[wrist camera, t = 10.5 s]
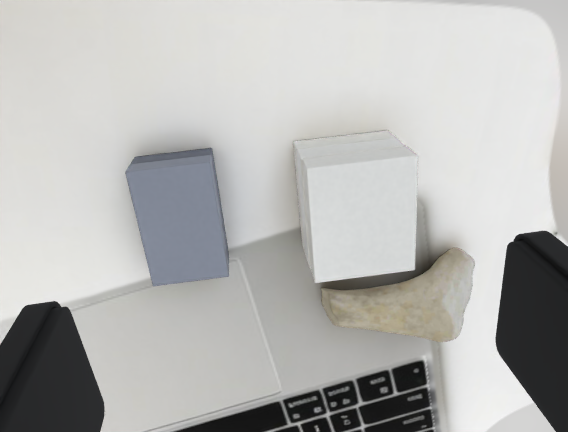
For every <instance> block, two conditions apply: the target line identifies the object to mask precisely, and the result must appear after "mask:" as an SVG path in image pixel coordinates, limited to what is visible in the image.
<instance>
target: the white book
mask: <svg viewBox="0 0 568 432" xmlns="http://www.w3.org/2000/svg"><path fill="white" fill-rule="evenodd" d="M302 163H303V176H304V189H305V202H306V215H307V228H308V241H309V254H310V267H311V272H312V275H313V278H314V282H315V283H320V282H328V281H336V280H343V279H351V278H358V277H366V276H374V275H381V274H389V273H396V272H404V271H412V270H415V251H416V216H417V182H418V155H417V154H416V153H415V152H414V151H413V150H411V149H410V148H409V147H399V148H390V149H382V150H373V151H365V152H356V153H348V154H339V155H331V156H322V157H314V158H305V159H303V160H302Z"/></svg>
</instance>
